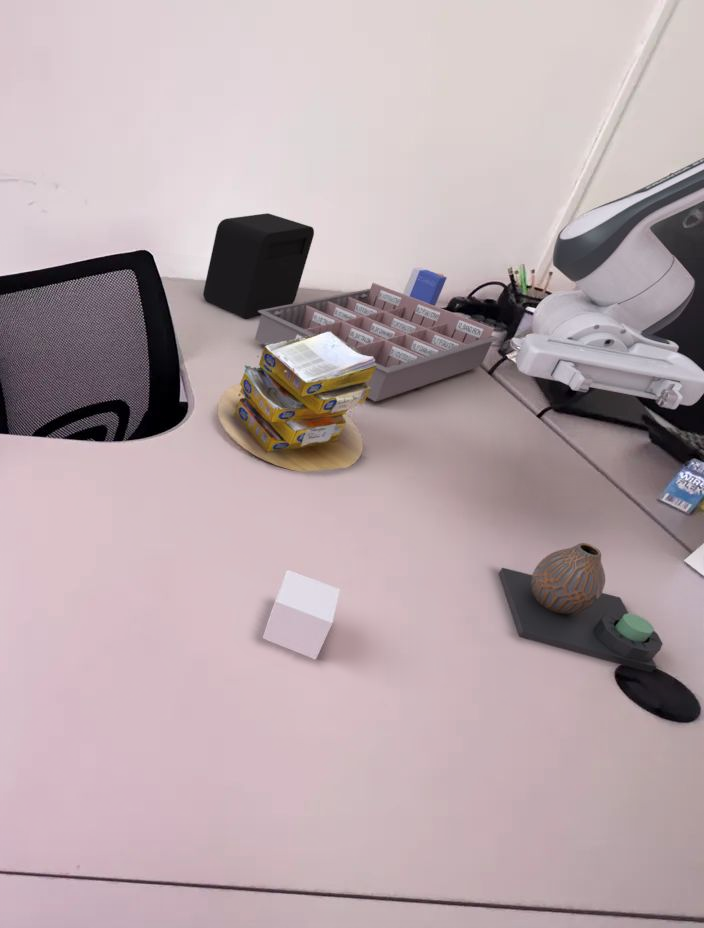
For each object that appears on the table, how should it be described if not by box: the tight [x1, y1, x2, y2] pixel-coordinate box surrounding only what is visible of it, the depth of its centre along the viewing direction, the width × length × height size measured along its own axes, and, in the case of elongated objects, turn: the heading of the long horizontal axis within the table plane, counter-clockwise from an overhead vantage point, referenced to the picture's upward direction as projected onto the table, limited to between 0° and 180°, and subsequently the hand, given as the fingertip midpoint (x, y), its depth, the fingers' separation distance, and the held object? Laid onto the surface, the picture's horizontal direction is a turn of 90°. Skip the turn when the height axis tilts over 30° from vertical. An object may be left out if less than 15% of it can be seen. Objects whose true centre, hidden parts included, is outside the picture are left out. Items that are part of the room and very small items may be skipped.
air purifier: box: [202, 213, 315, 320], centre depth 163 cm, size 20×15×20 cm
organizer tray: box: [254, 282, 499, 403], centre depth 144 cm, size 32×40×10 cm
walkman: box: [402, 267, 448, 306], centre depth 169 cm, size 8×3×12 cm, turn 27°
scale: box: [498, 567, 664, 674], centre depth 83 cm, size 14×12×3 cm
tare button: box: [615, 613, 655, 643], centre depth 78 cm, size 3×3×2 cm
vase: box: [531, 542, 606, 614], centre depth 82 cm, size 7×7×9 cm
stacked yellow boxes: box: [216, 332, 376, 473], centre depth 112 cm, size 25×25×17 cm
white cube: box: [262, 569, 341, 661], centre depth 76 cm, size 6×6×6 cm
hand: (627, 394), depth 80 cm, fingers open, 8 cm apart
